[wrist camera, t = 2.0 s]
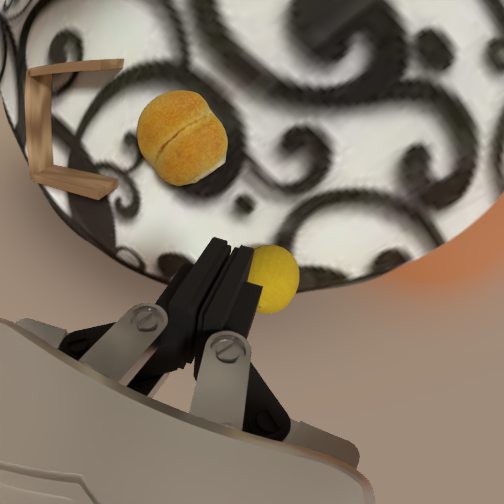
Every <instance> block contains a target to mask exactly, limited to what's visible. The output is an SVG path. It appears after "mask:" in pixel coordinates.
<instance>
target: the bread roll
mask: <svg viewBox="0 0 504 504" xmlns="http://www.w3.org/2000/svg"><path fill="white" fill-rule="evenodd" d="M137 139H138V145H139V148H140V151H141V153H142V155H143V156H144V157H145V159H146V160H147V161H148V162H149V163H150V164H151V165H152V166H153V167H154V168H155V170H156V172H157V174H158V175H159V176H160V178H162V179H163V180H165V181H166V182H168V183H170V184H173V185H176V186H182V185H187V184H191V183H196V182H197V181H199V180H200V179H202V178H204V177H205V176H207V175H208V174H210V173H211V172H213V171H214V170H216V169H217V168H218V167H220V166H221V165H222V164H224V163H225V161H226V152H227V145H228V141H227V136H226V132H225V129H224V127H223V125H222V123H221V122H220V121H219V120H218V118H217V117H216V116H215V115H214V114H213V112H212V111H211V110H210V108H209V106H208V104H207V103H206V101H205V100H204V99H203V98H202V97H201V96H200V95H199V94H198V93H196V92H191V91H184V90H177V91H171V92H167V93H164V94H162V95H160V96H158V97H156V98H155V99H153V100H152V101H151V102H150V103H149V104H148V105H147V106H146V107H145V108H144V110H143V112H142V113H141V115H140V118H139V121H138V125H137Z"/></svg>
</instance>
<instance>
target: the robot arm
mask: <svg viewBox="0 0 504 504" xmlns="http://www.w3.org/2000/svg"><path fill="white" fill-rule="evenodd" d="M254 250H255V249H253V248H249V247H246V246H243V245H241V246H240V248H236V247H235V248H234V249H233V251H232V253H231V255H230V252H231V246H230V245H227V241H226V240H222V239H219V238H216V237H213V238H212V240H211V241H210V243H209V244H208V246H207V247H206V248H205V250H204V251H203V253H202V254H201V256H200V257H199V259H198V260H197V262H196V263H195V264H194V265H193V264H190V263H187V262H186V263H184V264H183V265H182V267H181V268H180V269H179V271H178V272H177V274H176V275H175V276H174V278H173V279H172V281H171V282H170V283H169V285H168V286H167V288H166V289H165V290H164V292H163V293H162V295H161V296H160V297H159V299H158V300H157V302H156V303H155V304H152V303H141V304H138V305H135V306H133V307H132V308H131V309H130V310H128V311H127V313H125V314H124V315H123V316H122V317H121V318H120V319H119V320H118V322H114V323H110V324H106V325H101V326H97V327H92V328H88V329H83V330H78V331H74V332H72V333H67V330H65V329H61V328H58V327H55V326H51V325H48V324H45V323H42V322H39V321H35V320H33V319H28V318H25V319H21V320H19V321H18V322H16V323H14V322H12V321H9V320H6V319H2V318H0V504H375V496H374V491H373V488H372V486H371V483H370V482H369V480H368V479H367V478H366V477H365V476H364V475H363V474H361V473H360V472H359V471H358V470H356V469H357V466H358V463H359V458H360V454H359V451H358V449H357V447H356V446H355V445H354V444H353V443H351V442H350V441H348V440H345V439H342V438H340V437H338V436H335V435H333V434H330V433H328V432H325V431H323V430H321V429H318V428H316V427H314V426H311V425H309V424H307V423H305V422H303V421H300V422H297V421H295V420H293V419H291V418H289V416H288V414H287V412H286V411H285V410H284V408H283V407H282V406H281V404H280V403H279V402H278V400H277V399H276V397H275V396H274V394H273V393H272V392H271V390H270V389H269V388H268V386H267V385H266V383H265V382H264V381H263V379H262V377H261V376H260V375H259V373H258V372H257V370H256V369H255V368H254V366H253V365H252V363H251V362H250V360H251V346H250V344H249V342H248V341H247V340H246V339H247V337H248V334H249V331H250V328H251V324H252V322H253V319H254V316H255V312H256V310H257V306H258V303H259V300H260V296H261V293H262V289H263V286H260V285H257V284H253V283H250V282H247V281H248V276H249V272H250V268H251V264H252V260H253V255H254ZM194 357H195V364H194V377H195V380H196V385H195V389H194V394H193V399H192V402H191V406H190V411H189V413H186V412H184V411H181V410H179V409H176V408H173V407H171V406H169V405H166V404H164V403H161V402H159V401H157V400H154V399H152V398H153V396H154V395H155V393H156V392H157V391H158V390H159V388H160V387H161V386H162V384H163V383H164V381H165V380H166V379H167V377H168V375H169V373H170V372H172V371H174V370H177V369H178V368H181V369H184V367H185V365H186V363H190V364H191V363H192V361H193V359H194Z"/></svg>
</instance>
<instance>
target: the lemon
mask: <svg viewBox="0 0 504 504" xmlns="http://www.w3.org/2000/svg"><path fill="white" fill-rule="evenodd" d="M247 282H250V283H253V284H257V285H260V286H263V289H262V293H261V296H260V300H259V303H258V306H257V310H256V312H258V313H263V314H270V313H275V312H278V311H280V310H282V309H283V308H285V307H286V306H287V305H288V304H289V302H290V301H291V300H292V298H293V297H294V295H295V293H296V290H297V287H298V284H299V268H298V265H297V262H296V260H295V259H294V257H293V255H292V254H291V253H289V252H288V251H287V250H286V249H284V248H282V247H279V246H276V245H266V246H262V247H259V248H257V249H255V250H254V255H253V260H252V264H251V268H250V272H249V276H248V281H247Z"/></svg>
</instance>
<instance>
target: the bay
mask: <svg viewBox="0 0 504 504" xmlns="http://www.w3.org/2000/svg"><path fill="white" fill-rule="evenodd" d="M123 63H124V59H104V60H89V61H77V62H68V63H60V64H52V65H46V66H40V67H35V68H30V69H29V70H28V71H26V89H25V115H26V138H27V151H28V161H29V170H30V178H31V180H33V182H36V183H40V184H43V185H47V186H50V187H54V188H57V189H61V190H65V191H68V192H72V193H75V194H79V195H82V196H86V197H89V198H93V199H96V200H99V199H101V198H102V197H104V196H105V195H107V194H108V193H110V192H111V191H113V190H114V189H116V188H117V187H118V179H115V178H111V177H107V176H102V175H98V174H94V173H89V172H85V171H80V170H76V169H71V168H66V167H62V166H57V165H53V153H52V134H51V89H52V74H53V73H63V72H76V71H94V70H107V69H117V68H123Z"/></svg>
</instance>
